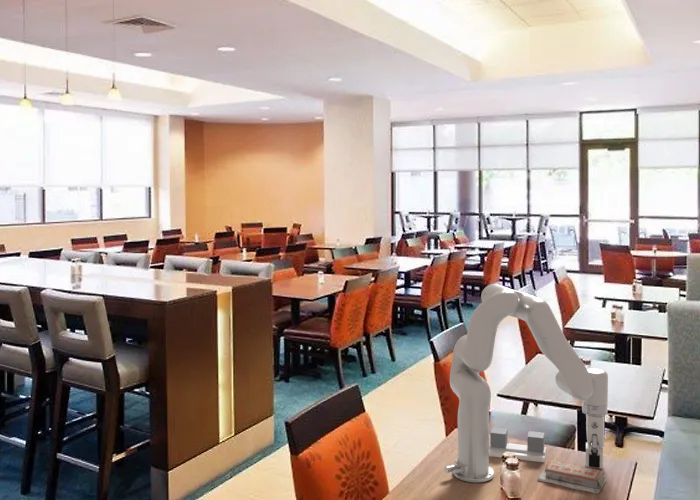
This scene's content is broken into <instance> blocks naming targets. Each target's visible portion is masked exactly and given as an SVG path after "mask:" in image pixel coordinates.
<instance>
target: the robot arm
mask: <svg viewBox="0 0 700 500" xmlns="http://www.w3.org/2000/svg"><path fill="white" fill-rule="evenodd" d="M480 296H481V297H480V298H481V299H480V301H481V302H480V303H479V305H478V306H476V308H475V309H474V311H473V312H472V314H471V317H470V319H469V323H468V326H467V327H468V328H467V333H466V334H465V335H462V336H460V338H458V339H457V341H456V342H455V345H454V348H453V352H452V359H451V366H450V373H449V385H450V386H449V387H450V389H451V390H452V392H453V393H454V394H455V395H456V397H458V400H459V403H458V409H457V459H454V463H453V464H452V465H451V464H450V465H446V466H444V472H445V473H447V474H448V473H452V474H453V476H454V477H455V478H456V479H458V480H460V481H464V482H467V483H484V482H488V481H491V480H492V479H493V478H494V476H495V471H494V469H493V468H492V467H491V466H490V456H489V445H490V425H489V424H490V408H491V400H492V390H491V387H490V385H489V383H488V382H487V381H486V379H484V378H483V377H482V376H481V375H480V372H482V373H483V372H485V371H487V370H488V369H489V368H490V367H491V364H492V361H493V357H494V349H495V342H496V335H497V331H498V328H499V325H500V324H501V322H502V321H503V320H504V319H507V317H513V318H516V319H519V320H522V321H524V322H525V324H526V325H527V327H528V328H529V330H530V332H531V334H532V336H533V338H534V340H535V342H536V344H537V346H538V348H539V350H540V351H541V353H542V354H543V355H544V357H545V358H547V360H549V361H550V362H551V363H552V364H553V365H554V366H555V368H557V370H558V371H557V373H556V374H555V380H554V381H555V385H556V386H557V387H558V388H559V389H560V390H562V391H563V392H564V393H566V394H568V395H569V396H571V397H572V398H573V399H575V400H579V401H582V402H581V411H582V412H581V413H582V414H584V415H585V418H586V421H585V425H586V426H585V430H586V432H585V433H586V440H587V441H586V443H588V445H589V446H590V454H589V467H588V468H593V467H596V468H595V469H600V468H599V467H600V455H599V446H600V447H603V448H604V446H605V417H606V416H607V415H608V405H609V404H608V403H609V401H608V399H609V398H608V395H609V393H608V392H609V391H608V390H609V389H608V388H609V375H608V373H607V371H606V370H604V369H601V368H595V367H591V368H590V367H589V368H587V367H586V366H585V363H583V361H582V359H581V357H579V355H578V353H577V352H576V351H575V350H574V348H573V346H572V345H571V344H570V342H569V341H568V340H567V337H566V336H565V334H564V333H563V330H562V328H561V327H560V324H559V323H558V321H557V318H556V316H555V314H554V313H553V310H552V308H551V307H550V305H549V304H548V303H547V301H546V300H544V299H542V298H540V297H537V296H535V295H532V294H529V293H525V292H522V291H518V290H515V289H512V288H510V287H506V286H504V285H501V284H499V283H490V284H488V285H487V286H485V288H484V289H483V290H482V291H481V295H480ZM591 443H593V445H591ZM597 444H598V445H597Z"/></svg>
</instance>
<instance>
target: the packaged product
mask: <svg viewBox="0 0 700 500" xmlns="http://www.w3.org/2000/svg"><path fill="white" fill-rule="evenodd" d="M537 481H539V482H543V483H550V484H553V485H558V486H560V485H561V487H565V488H568V489H574V490H579V491H582V492H583V491H584V492H590V493H591V494H597V495H599V493H600V492H601V491H602V489H603V487H604V485H605V484H606V482H607V480H606V477H605V472H604V470H600V469H597V468H592V467H586V466H582V465H577V464H572V463H568V462H563V461H558V460H554V459H553V460H552V459H549V460H547V464H546V465H545V467H544V468H543V470H542V472H541V473H540V474H539V475H538V477H537Z"/></svg>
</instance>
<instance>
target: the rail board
mask: <svg viewBox="0 0 700 500" xmlns="http://www.w3.org/2000/svg"><path fill="white" fill-rule="evenodd" d="M508 452H512V453H514V454H515V455H516V457H517V458H519V459H520V461H521V460H522V461H528V462H538V463H545V461H546V456H547V447H545V432H542V431H532V430H531V431H528V433H527V445H526V444H519V443H518V444H517V443H510V442H509V443H508V428H499V427H493V426H492V427H491V430H490V431H489V457H495V458H501V456H502V454H503V453H508ZM519 459H518V460H519Z"/></svg>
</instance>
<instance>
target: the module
mask: <svg viewBox="0 0 700 500" xmlns="http://www.w3.org/2000/svg"><path fill="white" fill-rule="evenodd" d="M591 445H593V443H591ZM597 445H598V444H597ZM603 448H604V447H600V446H599V455H600V467H599V468H598V469H603V462H604V461H603V457H604V453H603V452H604V449H603ZM589 454H590V446H589V445H588V443H587V442H585V467H587V468H590V467H589ZM592 469H597V468H596V467H592Z"/></svg>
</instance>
